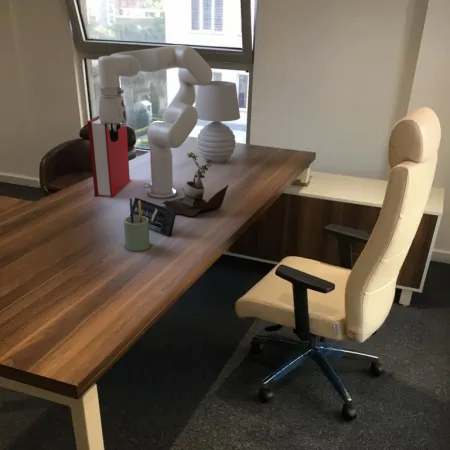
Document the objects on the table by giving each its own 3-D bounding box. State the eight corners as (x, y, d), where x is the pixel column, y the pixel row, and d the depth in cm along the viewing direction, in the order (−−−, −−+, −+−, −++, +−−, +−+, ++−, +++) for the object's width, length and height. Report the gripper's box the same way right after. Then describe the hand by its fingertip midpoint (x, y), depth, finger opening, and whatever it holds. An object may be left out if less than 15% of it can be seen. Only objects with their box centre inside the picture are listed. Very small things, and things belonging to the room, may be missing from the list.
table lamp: (238, 166, 278) (242, 87, 258) (191, 165, 278) (191, 85, 258) (238, 155, 300) (241, 80, 280) (194, 153, 300) (194, 79, 280)
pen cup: (121, 249, 181) (117, 199, 172) (132, 240, 188) (129, 192, 179) (143, 252, 179) (140, 203, 170) (153, 243, 186) (151, 195, 177)
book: (112, 197, 228) (106, 122, 212) (94, 196, 229) (87, 121, 213) (130, 179, 252) (126, 111, 236) (114, 178, 253) (109, 110, 237)
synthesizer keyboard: (178, 211, 190) (153, 205, 185) (172, 236, 192) (147, 232, 187) (156, 201, 208) (132, 196, 202) (150, 225, 210) (127, 221, 205)
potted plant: (190, 202, 232) (207, 150, 219) (218, 224, 223) (238, 170, 211) (157, 205, 218) (173, 149, 205) (185, 228, 209) (204, 171, 196)
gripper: (133, 92, 198) (135, 141, 207) (98, 89, 202) (102, 137, 211) (123, 94, 191) (127, 145, 201) (88, 91, 195) (93, 141, 204)
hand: (114, 141), depth 206 cm, fingers closed
